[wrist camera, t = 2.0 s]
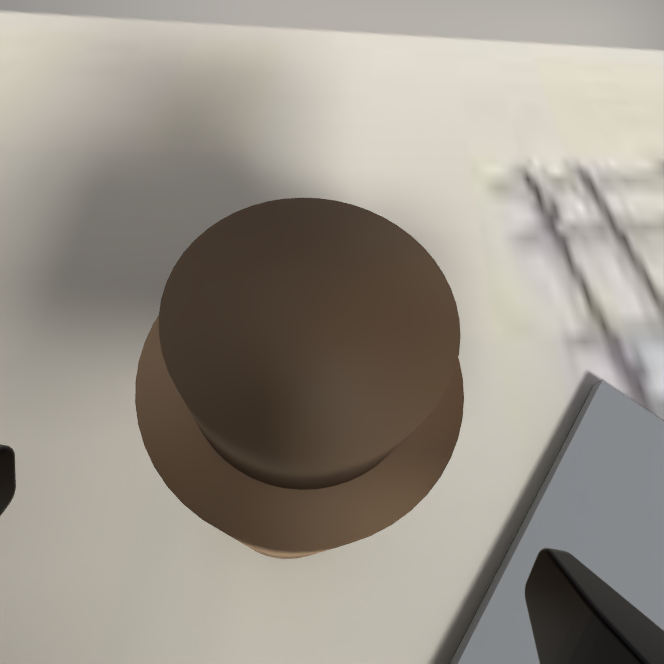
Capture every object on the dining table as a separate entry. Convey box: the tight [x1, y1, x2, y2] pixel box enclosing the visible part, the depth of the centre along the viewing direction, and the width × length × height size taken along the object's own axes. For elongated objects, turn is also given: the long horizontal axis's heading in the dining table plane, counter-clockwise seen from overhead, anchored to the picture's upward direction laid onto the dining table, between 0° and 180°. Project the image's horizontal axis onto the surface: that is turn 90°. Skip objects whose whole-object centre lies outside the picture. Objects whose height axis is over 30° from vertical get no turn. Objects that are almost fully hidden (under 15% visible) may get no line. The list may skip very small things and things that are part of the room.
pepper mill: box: [135, 198, 464, 559], centre depth 11 cm, size 5×5×13 cm
